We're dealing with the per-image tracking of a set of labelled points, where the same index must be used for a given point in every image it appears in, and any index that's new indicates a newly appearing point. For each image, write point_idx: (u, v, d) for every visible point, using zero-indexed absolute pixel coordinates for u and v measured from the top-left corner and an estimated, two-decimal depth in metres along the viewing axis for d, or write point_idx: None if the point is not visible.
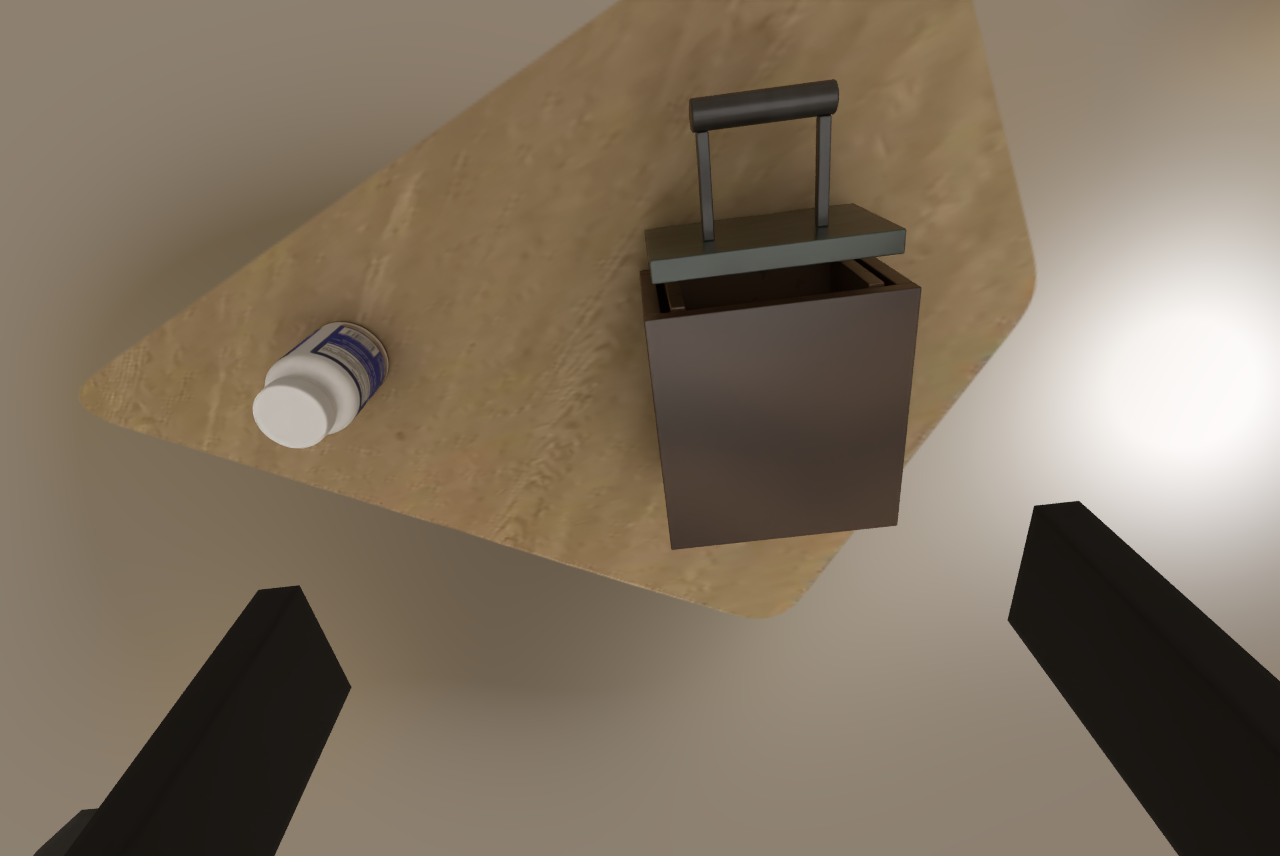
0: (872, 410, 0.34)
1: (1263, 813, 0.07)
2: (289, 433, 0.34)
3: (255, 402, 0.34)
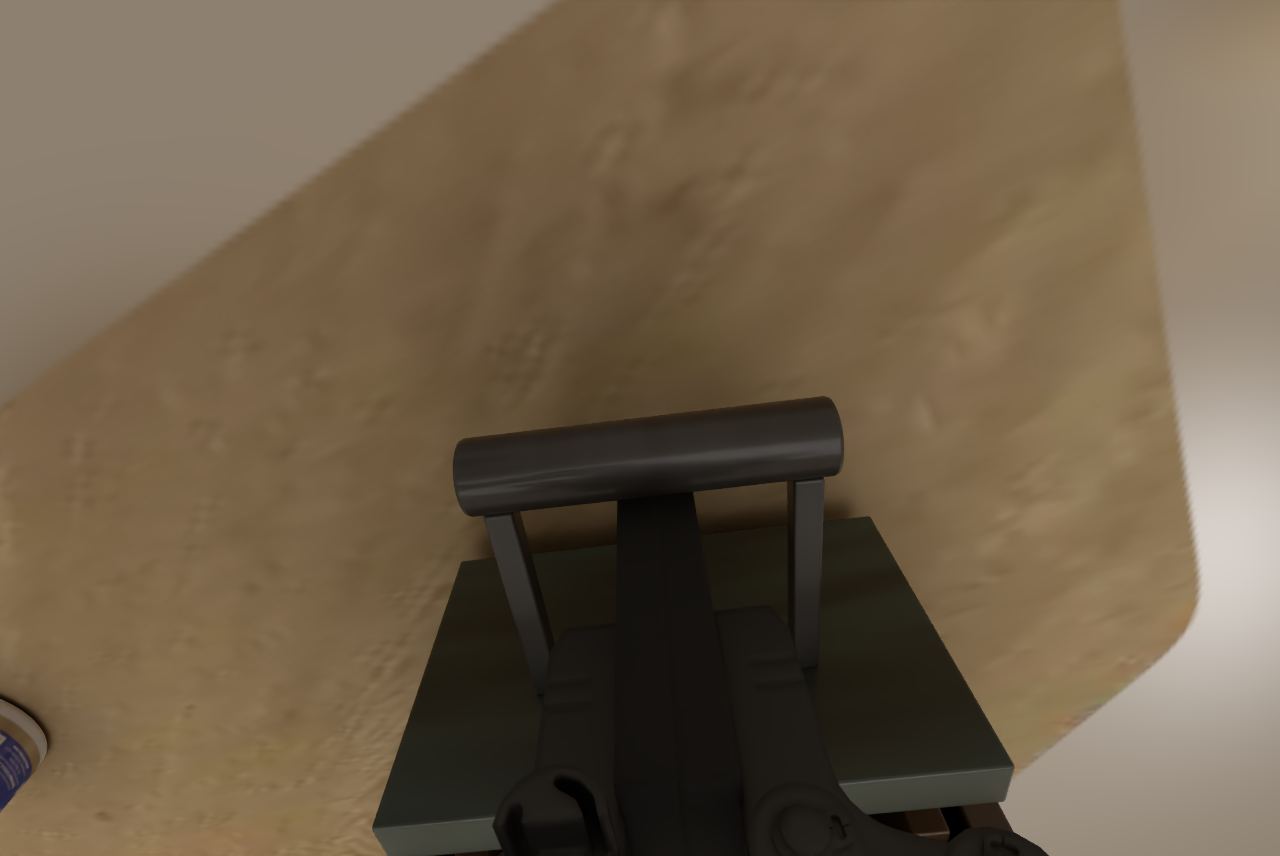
0: None
1: None
2: None
3: None
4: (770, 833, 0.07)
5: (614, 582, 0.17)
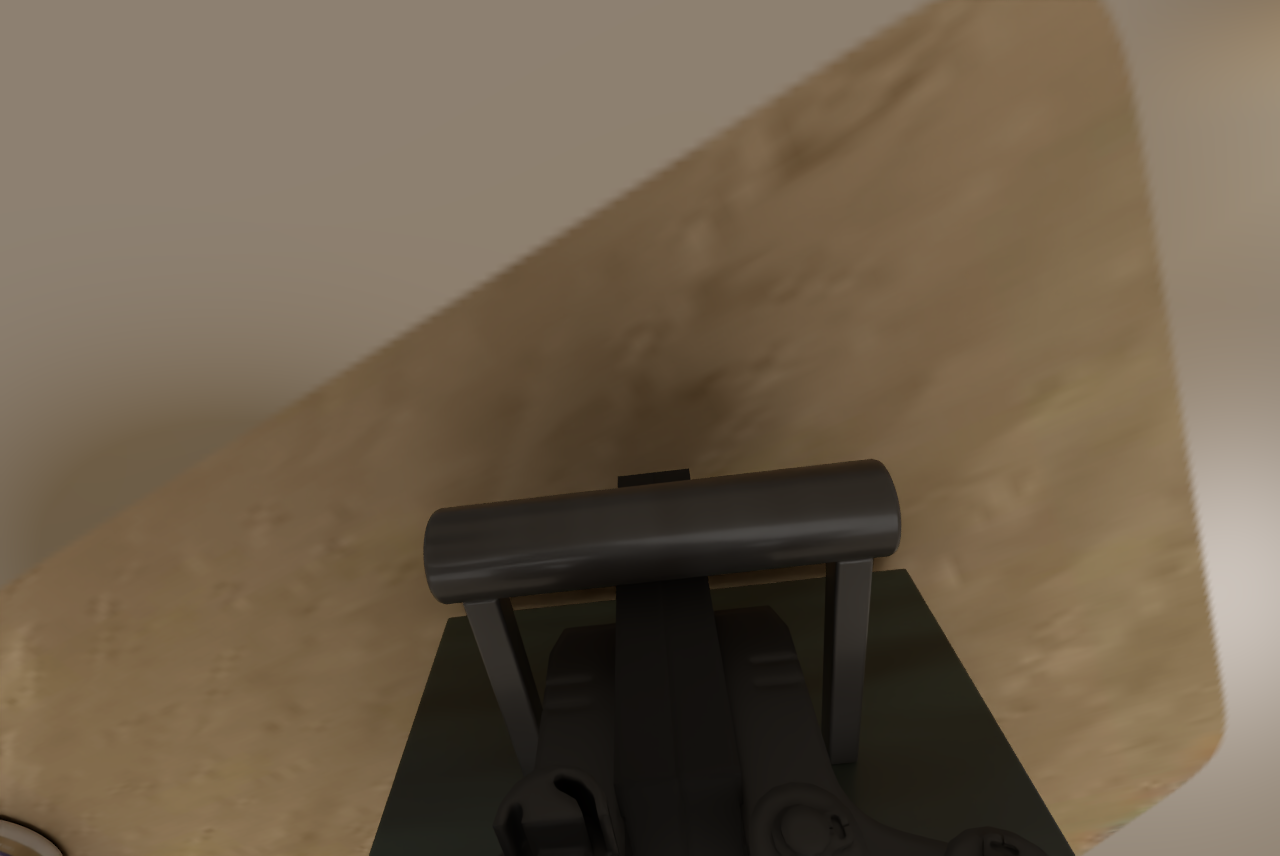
0: None
1: None
2: None
3: None
4: (770, 833, 0.07)
5: None
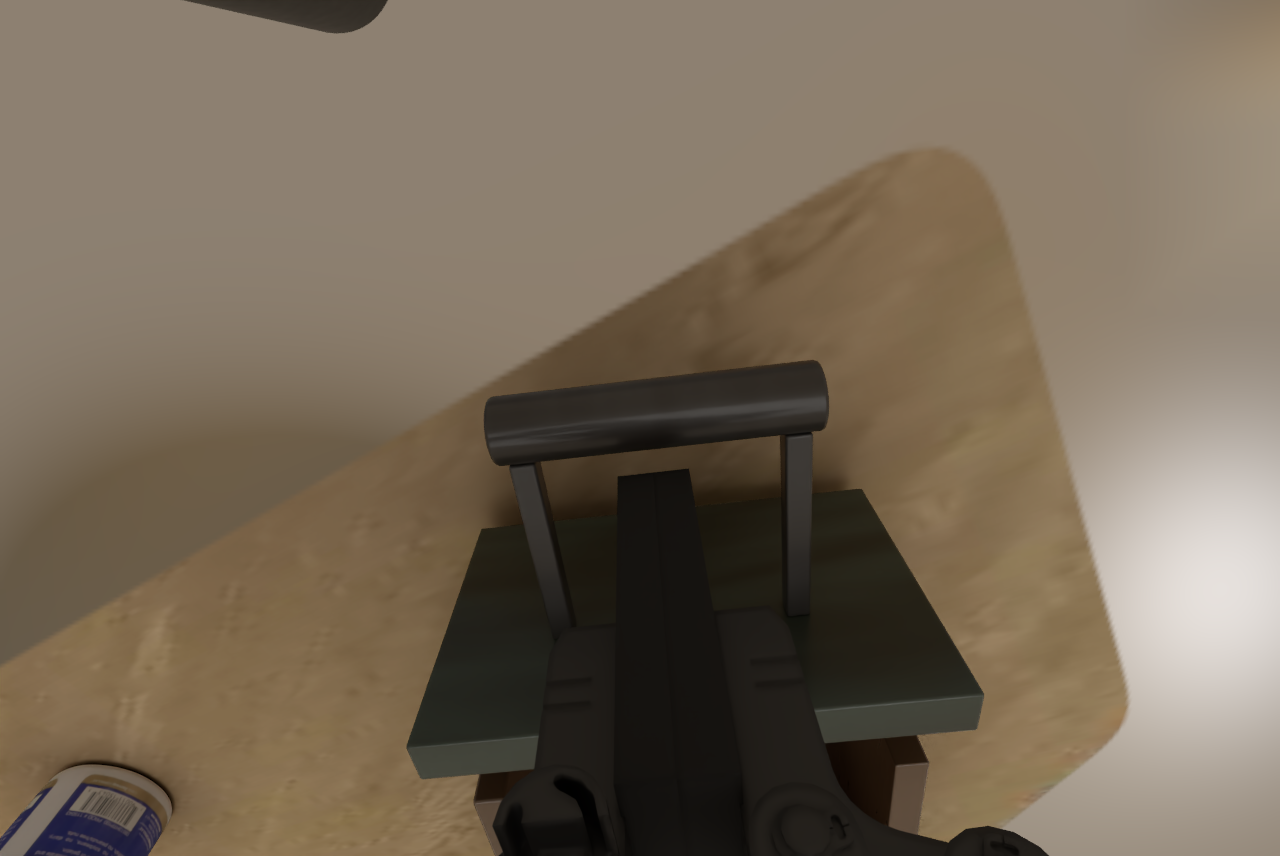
0: None
1: None
2: None
3: None
4: (770, 833, 0.07)
5: None
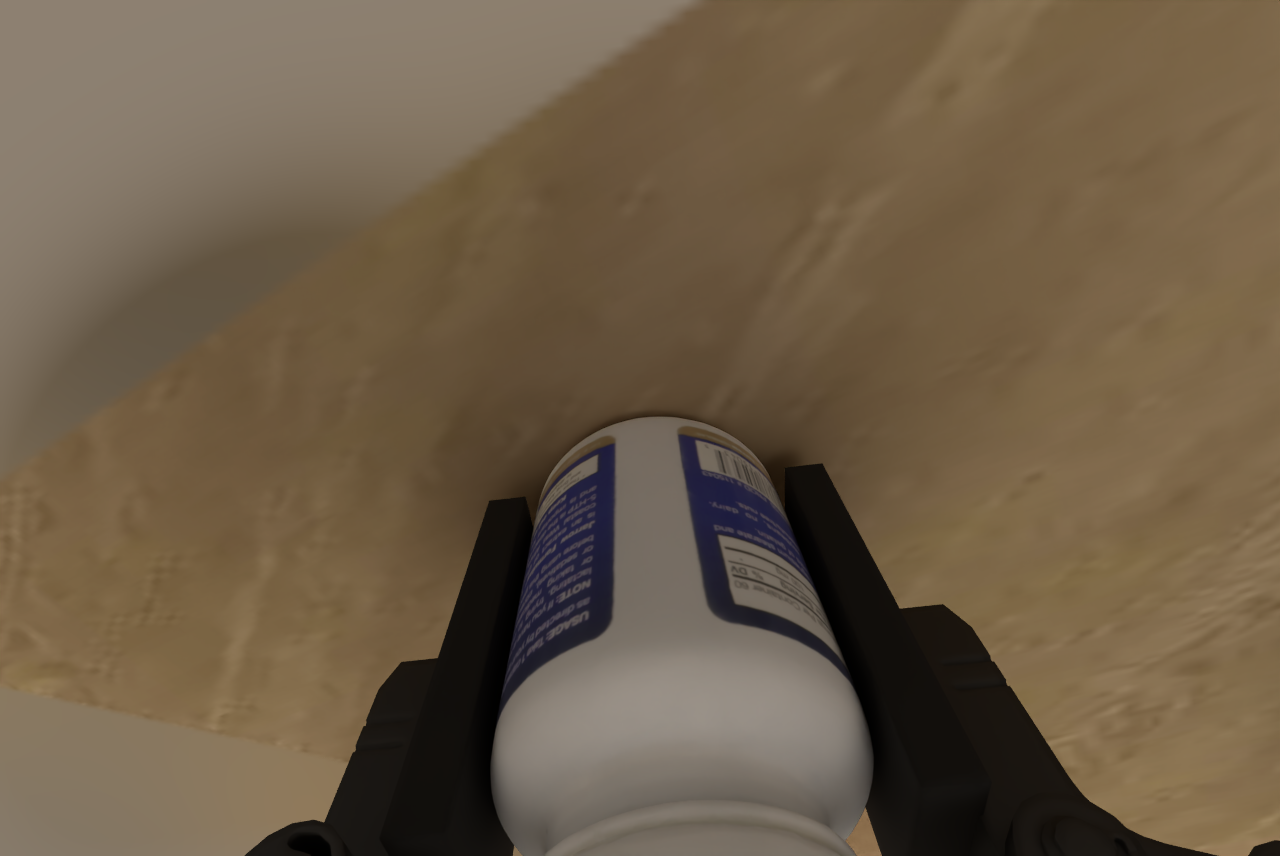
0: None
1: (859, 692, 0.09)
2: None
3: None
4: (1039, 837, 0.06)
5: None
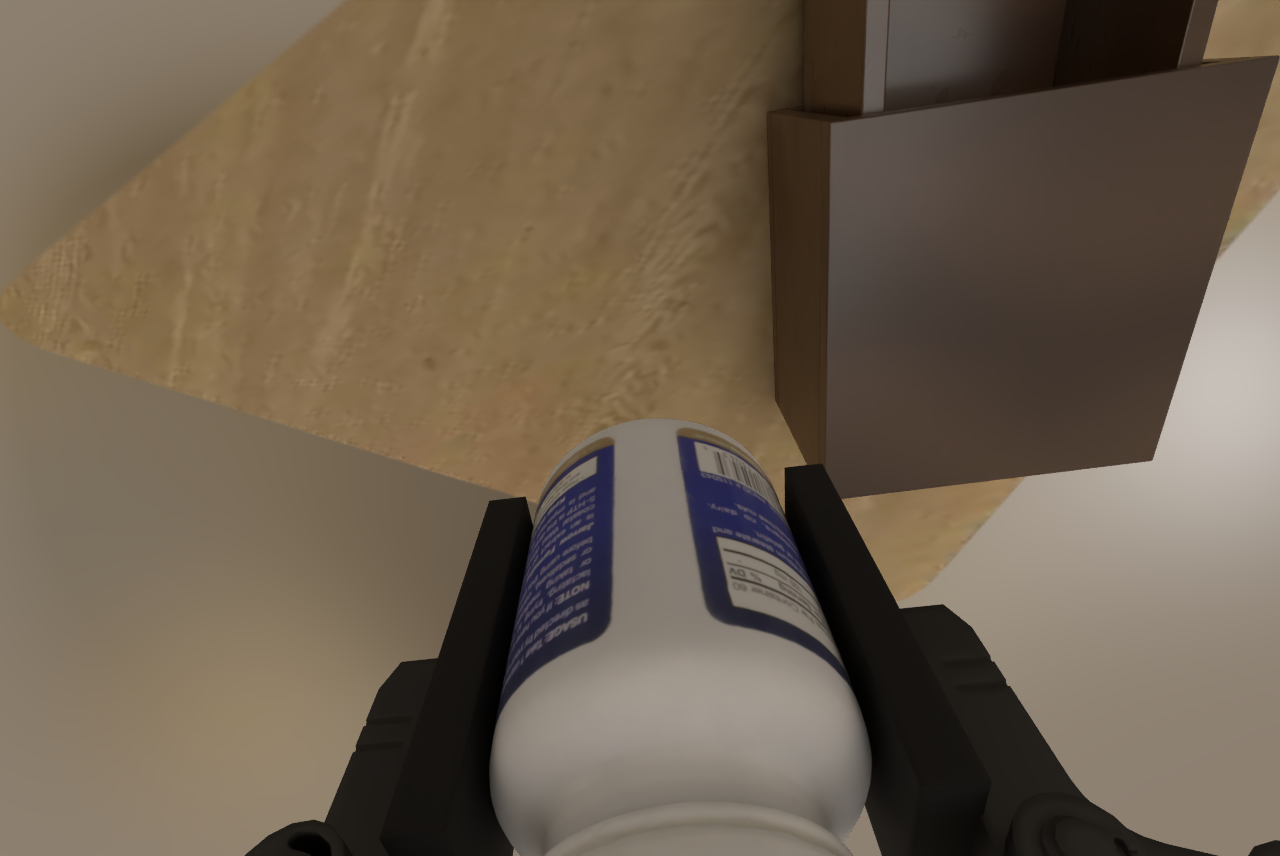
0: (1156, 276, 0.22)
1: (859, 692, 0.09)
2: None
3: None
4: (1039, 837, 0.06)
5: None
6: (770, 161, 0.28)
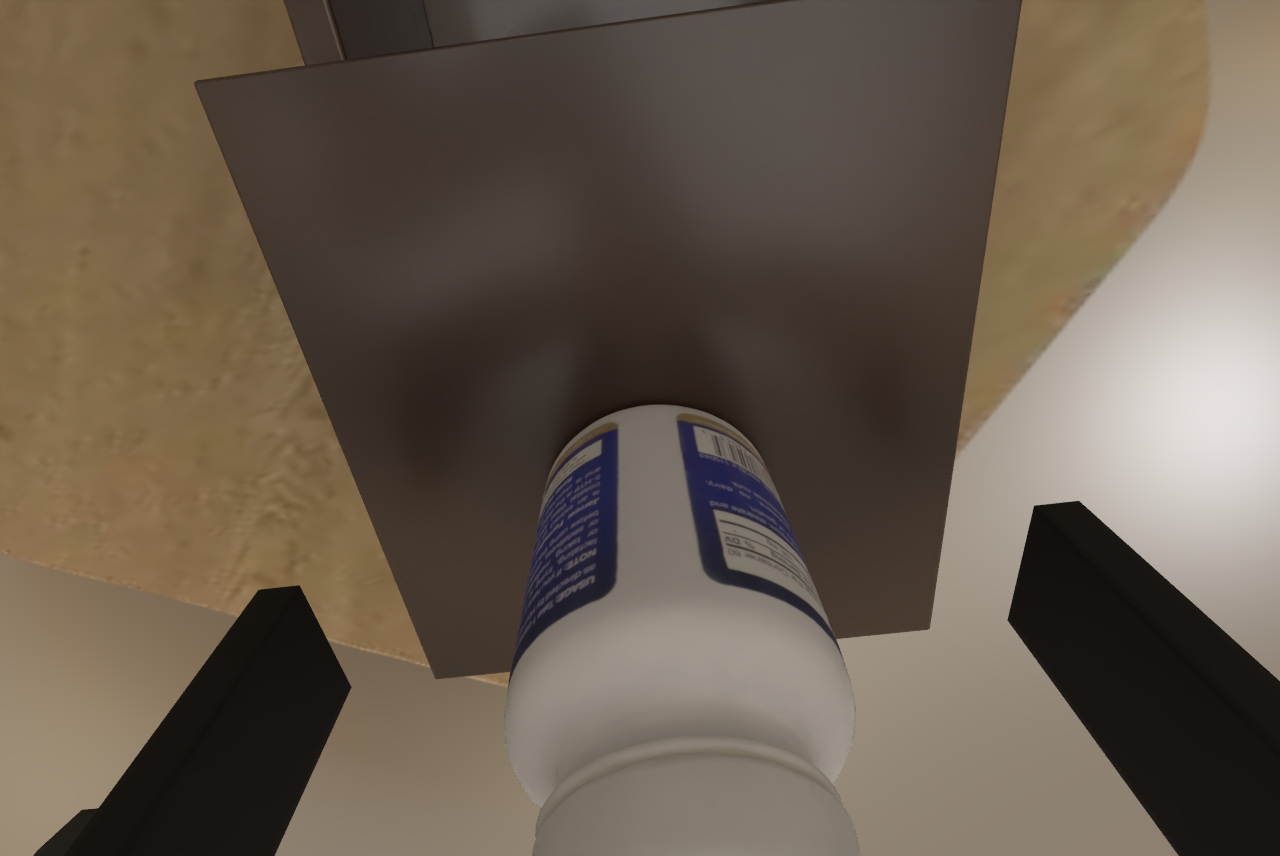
0: (875, 362, 0.13)
1: (1263, 813, 0.07)
2: None
3: None
4: None
5: None
6: None
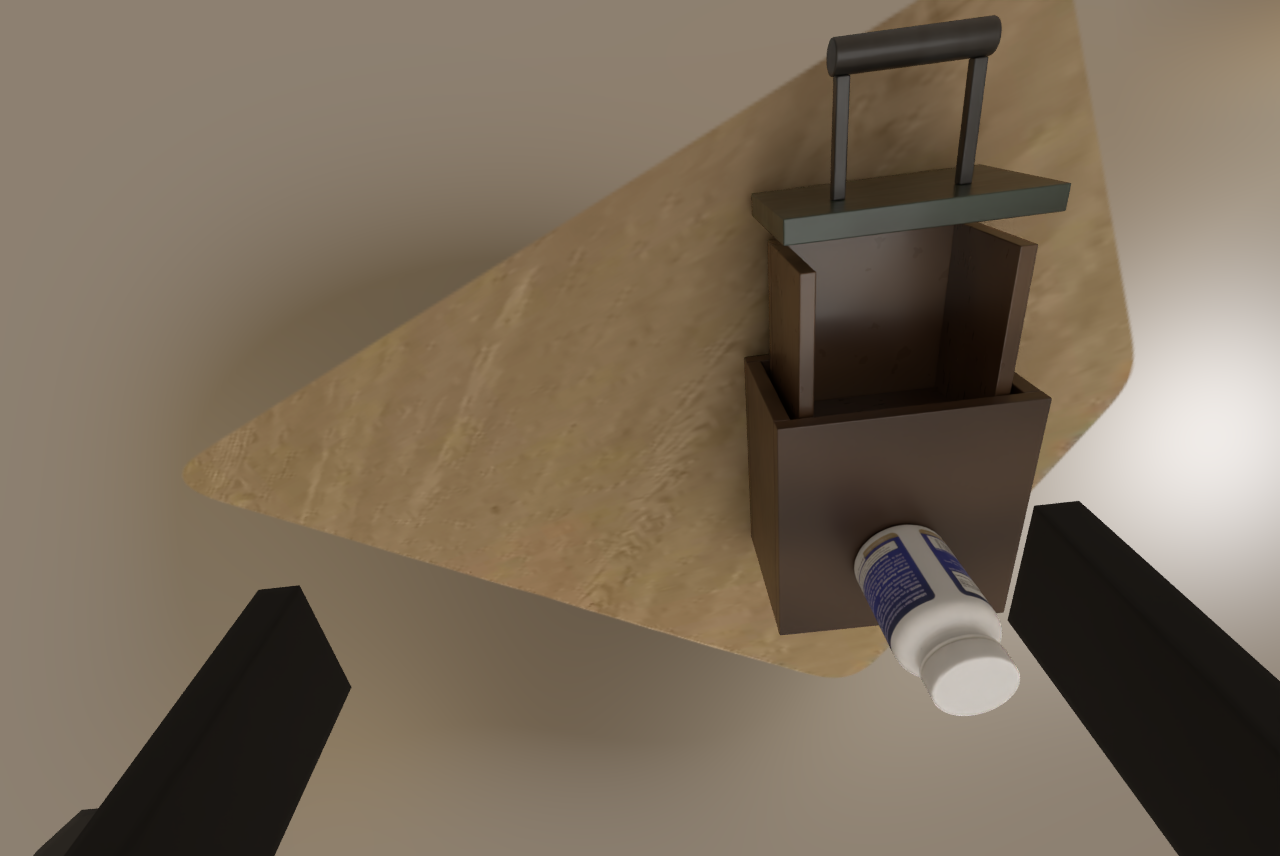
0: (991, 509, 0.34)
1: (1263, 813, 0.07)
2: (964, 702, 0.28)
3: (947, 674, 0.27)
4: None
5: (847, 186, 0.33)
6: (746, 389, 0.40)
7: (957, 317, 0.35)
